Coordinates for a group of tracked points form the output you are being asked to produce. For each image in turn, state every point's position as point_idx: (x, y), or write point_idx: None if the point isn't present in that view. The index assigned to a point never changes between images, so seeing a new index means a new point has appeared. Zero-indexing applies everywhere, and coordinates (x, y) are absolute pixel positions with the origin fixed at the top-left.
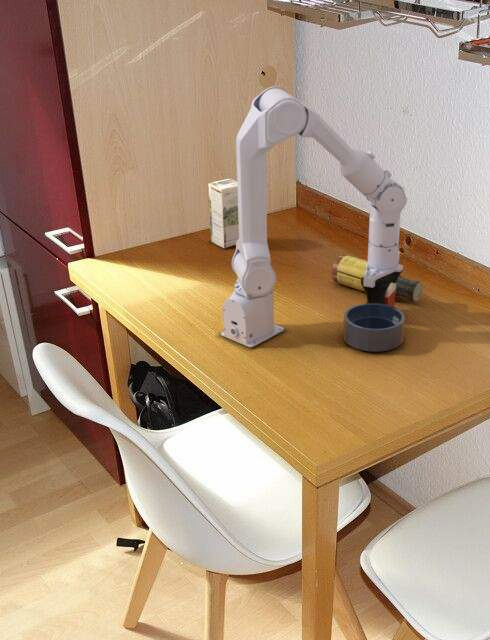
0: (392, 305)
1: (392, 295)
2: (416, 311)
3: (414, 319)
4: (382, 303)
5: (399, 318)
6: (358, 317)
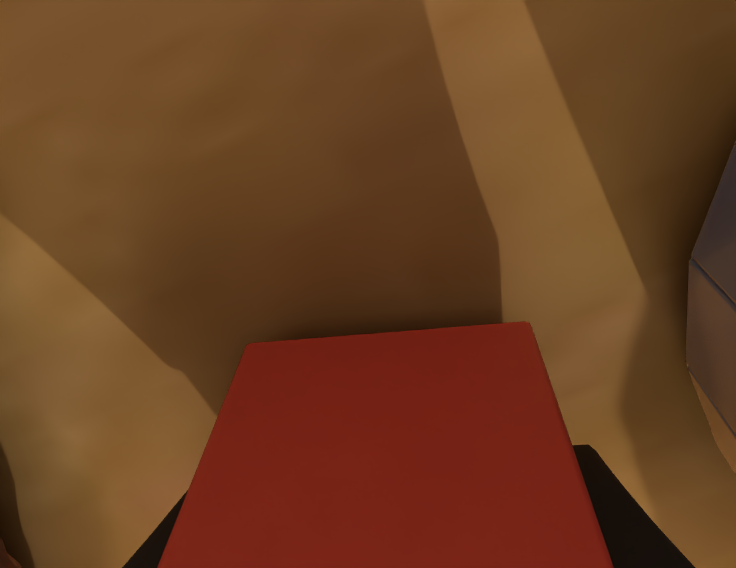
0: (323, 406)
1: (334, 544)
2: (3, 119)
3: (231, 32)
4: (663, 551)
5: None
6: None
